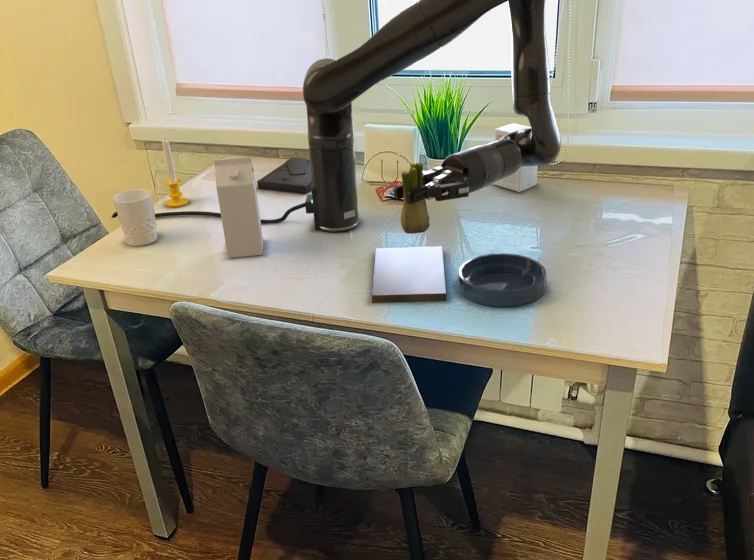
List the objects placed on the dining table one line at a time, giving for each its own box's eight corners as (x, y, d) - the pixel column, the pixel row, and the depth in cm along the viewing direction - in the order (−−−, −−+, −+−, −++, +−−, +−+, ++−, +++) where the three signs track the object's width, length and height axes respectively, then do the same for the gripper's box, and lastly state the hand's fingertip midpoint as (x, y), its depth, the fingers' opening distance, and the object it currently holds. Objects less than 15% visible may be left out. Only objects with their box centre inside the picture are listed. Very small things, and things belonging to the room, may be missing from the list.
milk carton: (229, 244, 164) (215, 154, 153) (263, 241, 164) (251, 151, 153) (227, 258, 158) (212, 166, 147) (263, 255, 158) (250, 162, 147)
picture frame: (292, 165, 204) (257, 188, 191) (291, 157, 203) (256, 179, 190) (338, 169, 199) (306, 193, 186) (337, 161, 198) (305, 184, 185)
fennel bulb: (408, 239, 137) (404, 172, 131) (394, 230, 141) (390, 165, 135) (436, 231, 139) (434, 165, 133) (421, 222, 143) (419, 158, 137)
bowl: (460, 309, 134) (461, 292, 133) (456, 270, 147) (456, 254, 145) (550, 306, 133) (552, 290, 131) (538, 268, 146) (539, 252, 144)
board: (372, 302, 138) (371, 295, 137) (376, 255, 155) (375, 248, 154) (446, 301, 137) (446, 293, 136) (442, 253, 154) (442, 246, 153)
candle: (192, 201, 187) (180, 135, 178) (177, 208, 183) (164, 142, 174) (176, 198, 189) (164, 133, 180) (161, 205, 186) (148, 139, 177)
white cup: (167, 235, 170) (158, 190, 165) (145, 249, 164) (135, 204, 159) (138, 230, 173) (128, 187, 168) (116, 245, 167) (104, 200, 162)
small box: (537, 185, 181) (541, 128, 174) (518, 192, 178) (522, 135, 171) (510, 177, 187) (513, 122, 179) (492, 184, 183) (494, 128, 176)
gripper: (445, 141, 145) (374, 165, 137) (502, 157, 136) (429, 184, 128) (446, 180, 150) (376, 206, 141) (500, 198, 140) (430, 227, 132)
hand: (402, 195), depth 135 cm, fingers closed on fennel bulb, 2 cm apart
